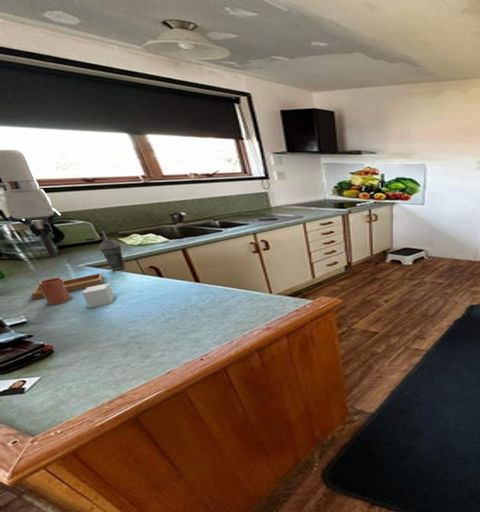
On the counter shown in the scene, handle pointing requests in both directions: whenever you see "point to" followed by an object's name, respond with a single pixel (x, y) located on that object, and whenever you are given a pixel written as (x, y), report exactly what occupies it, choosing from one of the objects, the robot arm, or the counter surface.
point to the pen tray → (75, 284)
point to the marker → (45, 238)
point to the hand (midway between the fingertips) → (43, 234)
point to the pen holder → (54, 291)
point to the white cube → (98, 295)
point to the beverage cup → (112, 254)
